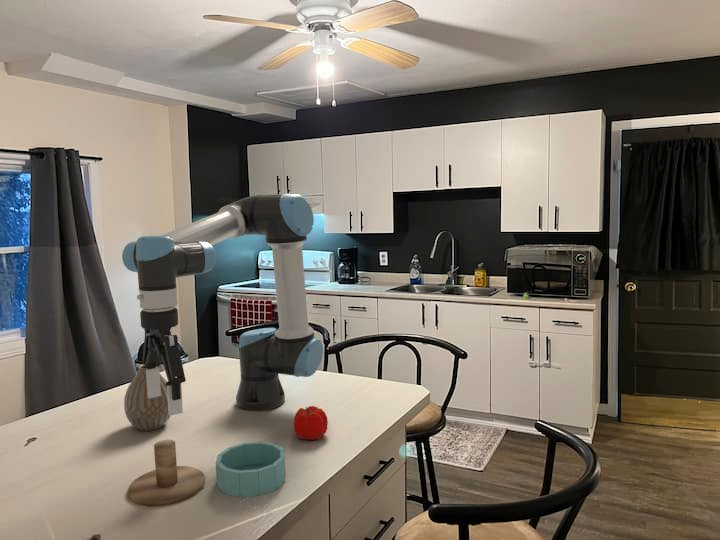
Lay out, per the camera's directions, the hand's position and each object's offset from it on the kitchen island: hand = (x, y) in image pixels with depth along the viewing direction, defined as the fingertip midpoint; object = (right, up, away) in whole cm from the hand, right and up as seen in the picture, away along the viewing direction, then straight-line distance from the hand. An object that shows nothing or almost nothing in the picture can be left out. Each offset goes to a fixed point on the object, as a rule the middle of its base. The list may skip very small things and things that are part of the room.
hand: (164, 405), depth 121 cm
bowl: (+18, -18, +5) cm, 26 cm away
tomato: (+29, -16, +28) cm, 43 cm away
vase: (-17, -15, +37) cm, 43 cm away
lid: (0, -18, +2) cm, 19 cm away
